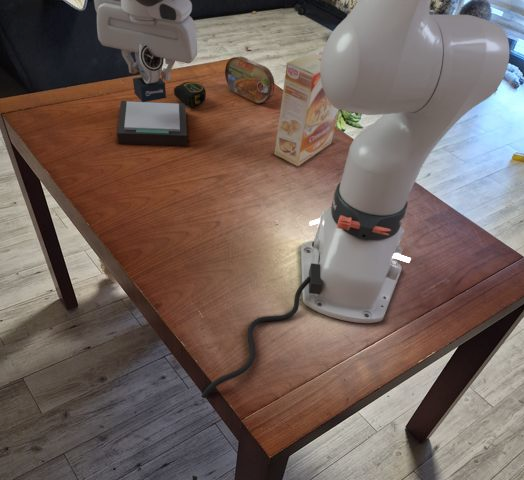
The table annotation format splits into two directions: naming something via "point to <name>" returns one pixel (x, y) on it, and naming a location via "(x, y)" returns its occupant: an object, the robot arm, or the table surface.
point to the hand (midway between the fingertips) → (150, 76)
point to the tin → (249, 79)
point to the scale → (152, 123)
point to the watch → (149, 76)
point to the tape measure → (190, 93)
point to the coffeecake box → (304, 111)
